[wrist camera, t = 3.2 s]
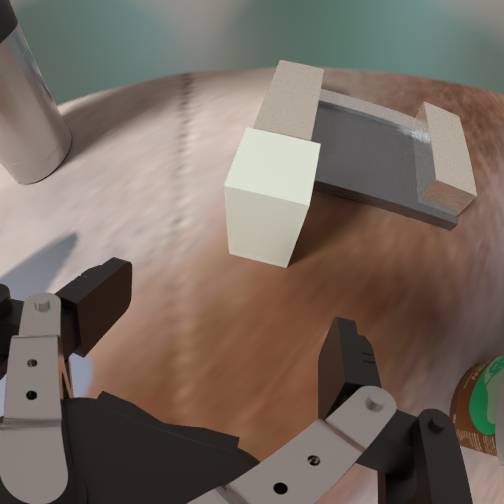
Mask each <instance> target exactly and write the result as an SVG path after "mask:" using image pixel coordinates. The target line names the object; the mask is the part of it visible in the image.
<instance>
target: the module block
mask: <svg viewBox="0 0 504 504" xmlns="http://www.w3.org/2000/svg"><path fill="white" fill-rule="evenodd" d="M320 145H321V144H319V143H315V142H311V141H307V140H303V139H299V138H295V137H290V136H286V135H281V134H277V133H272V132H268V131H263V130H258V129H253V128H248V127H246V130H245V132H244V135H243V137H242V140H241V142H240V145H239V148H238V150H237V153H236V155H235V158H234V161H233V163H232V166H231V168H230V171H229V174H228V176H227V179H226V182H225V184H224V192H225V206H226V219H227V232H228V245H229V254H233V255H237V256H241V257H245V258H249V259H253V260H257V261H261V262H265V263H269V264H273V265H277V266H281V267H285V268H287V265H288V263H289V260H290V257H291V255H292V252H293V249H294V247H295V244H296V241H297V239H298V236H299V233H300V230H301V228H302V225H303V222H304V219H305V217H306V214H307V211H308V208H309V205H310V200H311V195H312V190H313V184H314V179H315V173H316V168H317V162H318V157H319V151H320Z"/></svg>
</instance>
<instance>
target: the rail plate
mask: <svg viewBox="0 0 504 504" xmlns="http://www.w3.org/2000/svg"><path fill="white" fill-rule="evenodd" d="M323 74H324V69H321V68H317V67H313V66H309V65H304V64H299V63H294V62H289V61H284V60H280V61H279V64H278V66H277V68H276V71H275V73H274V76H273V78H272V81H271V83H270V86H269V88H268V91H267V94H266V96H265V99H264V101H263V104H262V106H261V109H260V112H259V114H258V117H257V120H256V122H255V125H254V127H253V129H258V130H263V131H268V132H272V133H277V134H281V135H286V136H290V137H295V138H299V139H303V140H307V141H311V142H315V143H319V144H321V145H320V151H319V157H318V162H317V168H316V173H315V179H314V184H313V190H317V191H321V192H325V193H328V194H332V195H336V196H340V197H343V198H347V199H350V200H354V201H357V202H361V203H364V204H368V205H371V206H375V207H378V208H382V209H385V210H388V211H391V212H395V213H398V214H401V215H404V216H408V217H411V218H414V219H417V220H420V221H423V222H426V223H429V224H432V225H435V226H438V227H441V228H444V229H447V230H451V229H453V228H454V227H455V226H456V225H457V215H458V214H459V213H460V212H461V211H462V210H464V209H465V208H466V207H467V206H468V205H469V204H470V203H471V202H472V201H473V200H474V199H475V198H476V197H477V193H476V187H475V182H474V176H473V171H472V166H471V162H470V157H469V153H468V148H467V144H466V140H465V136H464V133H463V129H462V125H461V122H460V118H459V116H457V115H455V114H452V113H450V112H448V111H446V110H444V109H441V108H439V107H437V106H434V105H432V104H429V103H427V102H425V101H424V102H423V104H422V106H421V107H420V109H419V111H418V113H417V115H416V117H415V118H414V117H411V116H408V115H406V114H403V113H400V112H397V111H395V110H392V109H389V108H386V107H383V106H380V105H377V104H374V103H370V102H367V101H364V100H361V99H357V98H354V97H350V96H347V95H343V94H340V93H336V92H332V91H328V90H324V89H321V85H322V79H323Z"/></svg>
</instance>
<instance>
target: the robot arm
mask: <svg viewBox="0 0 504 504" xmlns="http://www.w3.org/2000/svg"><path fill="white" fill-rule="evenodd" d="M71 141H72V137H71V133H70V132H69V130H68V128H67V126H66V124H65V122H64V120H63V118H62V116H61V114H60V112H59V110H58V108H57V106H56V104H55V102H54V100H53V98H52V96H51V94H50V92H49V90H48V88H47V86H46V84H45V82H44V80H43V78H42V76H41V74H40V71H39V69H38V67H37V65H36V63H35V60H34V58H33V56H32V54H31V51H30V49H29V47H28V45H27V42H26V40H25V38H24V35H23V33H22V31H21V28H20V26H19V23H18V21H17V18H16V16H15V14H14V11H13V9H12V6H11V4H10V1H9V0H0V162H1V164H2V165H3V166H4V167H5V169H6V170H7V171H8V172H9V173H10V175H11V176H12V177H13V178H14V179H15V180H16V181H17V182H18V183H21V184H31V183H34V182H37V181H39V180H41V179H43V178H45V177H46V176H48V175H49V174H50V173H51V172H53V171H54V170H55V169H56V168H57V167H58V166H59V165H60V164H61V162H62V161H63V160H64V158H65V157H66V155H67V153H68V151H69V149H70V146H71ZM131 292H132V264H131V262H129V261H125V260H122V259H119V258H115V257H113V258H111V259H110V260H108V261H107V262H105V263H104V264H103V265H99V266H96V267H93V268H90V269H88V270H86V271H85V272H83V273H82V274H81V276H78V277H77V278H75V279H74V280H73V281H71V282H70V283H68V284H67V285H66V286H64V287H63V288H62V289H60V290H59V291H58V292H56V293H55V294H52V293H46V292H43V293H37V294H34V295H31V296H29V297H28V298H27V299H26V300H25V301H19V300H14V299H11V297H10V292H9V288H8V287H7V286H5V285H3V284H0V380H1V379H2V378H3V377H4V375H5V374H6V373H7V376H6V388H5V401H4V402H5V403H4V416H1V417H0V504H316V503H317V502H318V501H319V500H320V499H321V498H322V497H323V496H324V495H325V494H326V493H327V492H328V491H329V490H330V489H331V488H332V487H333V486H334V485H335V484H336V483H337V482H338V481H339V480H340V479H341V478H342V477H343V476H344V475H345V474H346V473H347V472H348V470H349V469H350V468H351V467H352V466H353V465H354V464H355V463H358V464H360V465H363V466H366V467H368V468H371V469H374V470H377V473H378V504H473V503H472V497H471V492H470V487H469V483H468V478H467V473H466V469H465V465H464V461H463V457H462V453H461V449H460V445H459V442H458V438H457V434H456V431H455V427H454V424H453V422H452V420H451V419H450V418H449V417H448V416H447V415H446V414H445V413H443V412H442V411H439V410H437V409H426V410H424V411H422V412H421V413H420V415H419V416H418V417H415V416H412V415H410V414H407V413H404V412H402V411H399V410H398V409H396V402H395V400H394V398H393V397H392V396H391V395H390V394H389V393H388V392H387V391H385V390H383V389H382V387H381V383H380V378H379V374H378V370H377V365H376V364H375V363H376V361H375V357H374V353H373V349H372V345H371V344H370V343H369V341H368V340H367V339H366V337H365V336H361V335H358V332H357V328H356V323H355V321H353V320H349V319H344V318H340V317H335V318H334V320H333V322H332V324H331V327H330V329H329V332H328V334H327V337H326V339H325V342H324V344H323V346H322V349H321V352H320V356H319V361H318V420H316V421H315V422H314V423H313V424H311V425H310V426H309V427H308V428H306V429H305V430H304V431H303V432H301V433H300V434H299V435H298V436H296V437H295V438H294V439H292V440H291V441H290V442H288V443H287V444H286V445H285V446H283V447H282V448H281V449H279V450H278V451H276V452H275V453H274V454H272V455H271V456H270V457H268V458H267V459H265V460H264V461H262V462H260V461H258V460H257V459H256V458H255V457H253V456H252V455H250V454H249V453H247V452H245V451H244V450H242V449H240V448H238V447H237V446H238V442H239V438H240V437H236V436H232V435H228V434H224V433H220V432H217V431H213V430H209V429H206V428H200V427H190V426H181V425H173V424H166V423H163V422H161V421H159V420H158V419H156V418H154V417H153V416H151V415H150V414H148V413H147V412H145V411H144V410H142V409H140V408H139V407H137V406H136V405H134V404H133V403H130V402H128V401H126V400H123V399H121V398H118V397H116V396H114V395H111V394H109V393H107V392H104V391H102V392H101V394H100V395H99V396H98V398H97V399H94V398H80V397H78V398H74V396H73V388H72V377H71V364H70V358H69V356H70V355H71V354H72V353H75V354H77V355H79V356H81V357H83V358H84V357H85V356H86V355H87V354H88V352H89V351H90V350H91V349H92V348H93V347H94V346H95V345H96V343H97V342H98V341H99V340H100V339H101V338H102V337H103V336H104V335H105V333H106V332H107V331H108V330H109V329H110V328H111V327H112V326H113V325H114V324H115V322H116V321H117V320H118V319H119V318H120V317H121V316H122V315H123V314H124V313H125V312H126V310H127V309H128V307H129V305H130V302H131Z"/></svg>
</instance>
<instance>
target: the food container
mask: <svg viewBox="0 0 504 504" xmlns="http://www.w3.org/2000/svg"><path fill="white" fill-rule="evenodd" d="M449 418H450V419H451V420H452V422H453V424H454V427H455V431H456V434H457V438H458V442H459V445H461V446H464V447H467V448H470V449H473V450H476V451H480V452H483V453H486V454H490V455H493V456H497V457H498V459H499V462H500V465H501V466H504V355H502V356H499V357H497V358H494V359H491V360H488V361H485V362H482V363H479V364H476V365H475V366H474V367H472V368H471V369H469V370H468V371H467V372H466V373H465V374H464V376H463V377H462V378H461V380H460V381H459V383H458V385H457V387H456V389H455V392H454V394H453V398H452V401H451V406H450V415H449Z"/></svg>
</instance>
